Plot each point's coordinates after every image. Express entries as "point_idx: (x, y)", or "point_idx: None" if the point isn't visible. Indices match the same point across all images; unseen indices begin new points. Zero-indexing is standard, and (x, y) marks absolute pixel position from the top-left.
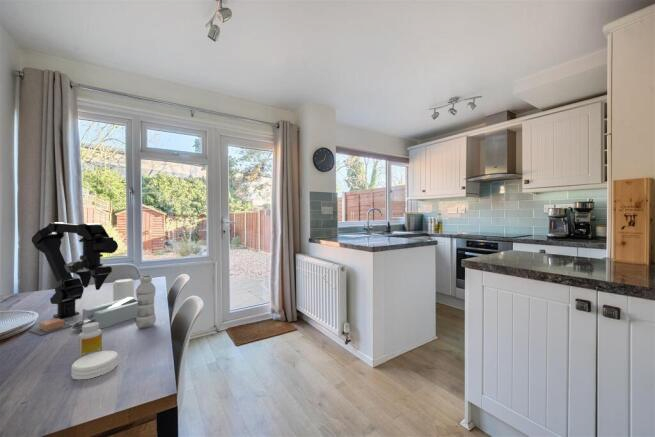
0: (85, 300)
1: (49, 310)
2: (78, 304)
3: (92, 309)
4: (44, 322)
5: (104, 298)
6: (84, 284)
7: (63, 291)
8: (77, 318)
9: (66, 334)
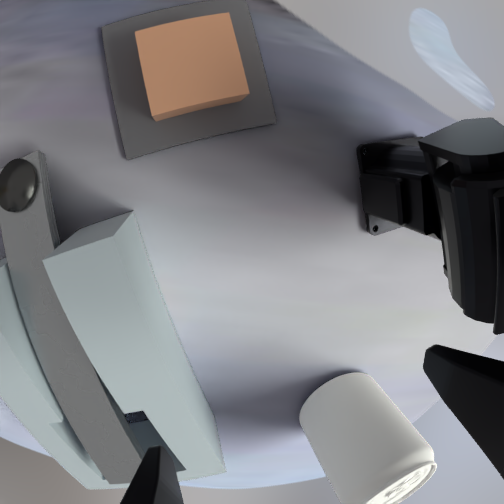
0: None
1: None
2: None
3: (55, 291)
4: (207, 27)
5: (471, 337)
6: (452, 369)
7: (492, 169)
8: (285, 208)
9: (17, 129)
